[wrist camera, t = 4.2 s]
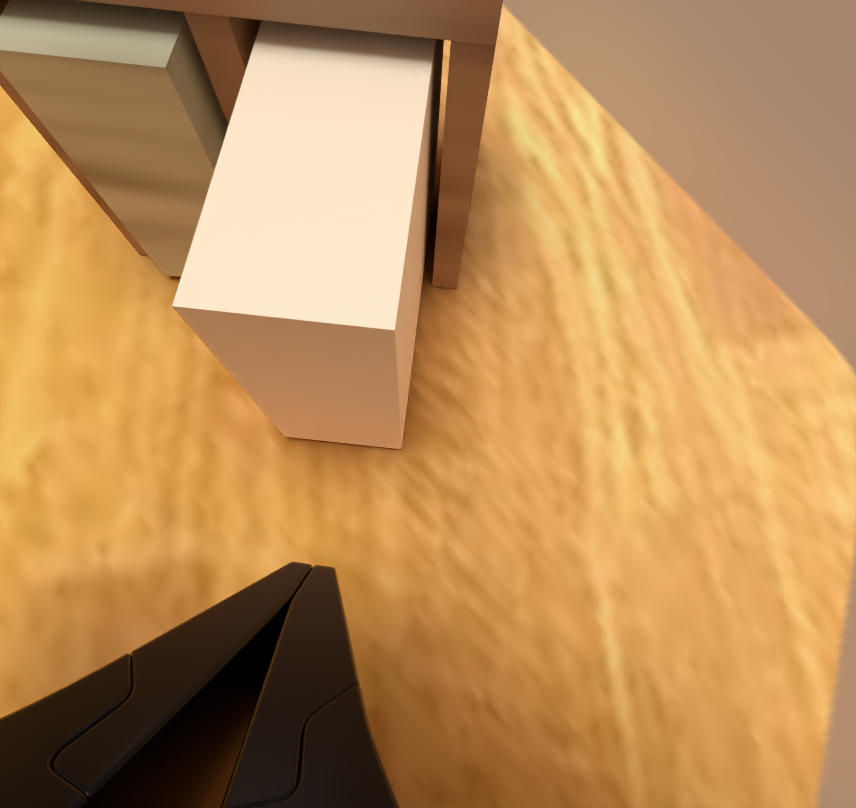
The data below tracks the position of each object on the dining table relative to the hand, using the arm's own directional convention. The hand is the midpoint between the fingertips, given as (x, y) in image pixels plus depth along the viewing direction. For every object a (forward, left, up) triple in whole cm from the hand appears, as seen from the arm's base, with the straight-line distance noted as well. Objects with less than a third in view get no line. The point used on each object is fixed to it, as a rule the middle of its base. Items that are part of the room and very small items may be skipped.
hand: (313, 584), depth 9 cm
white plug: (+11, -1, -7) cm, 13 cm away
